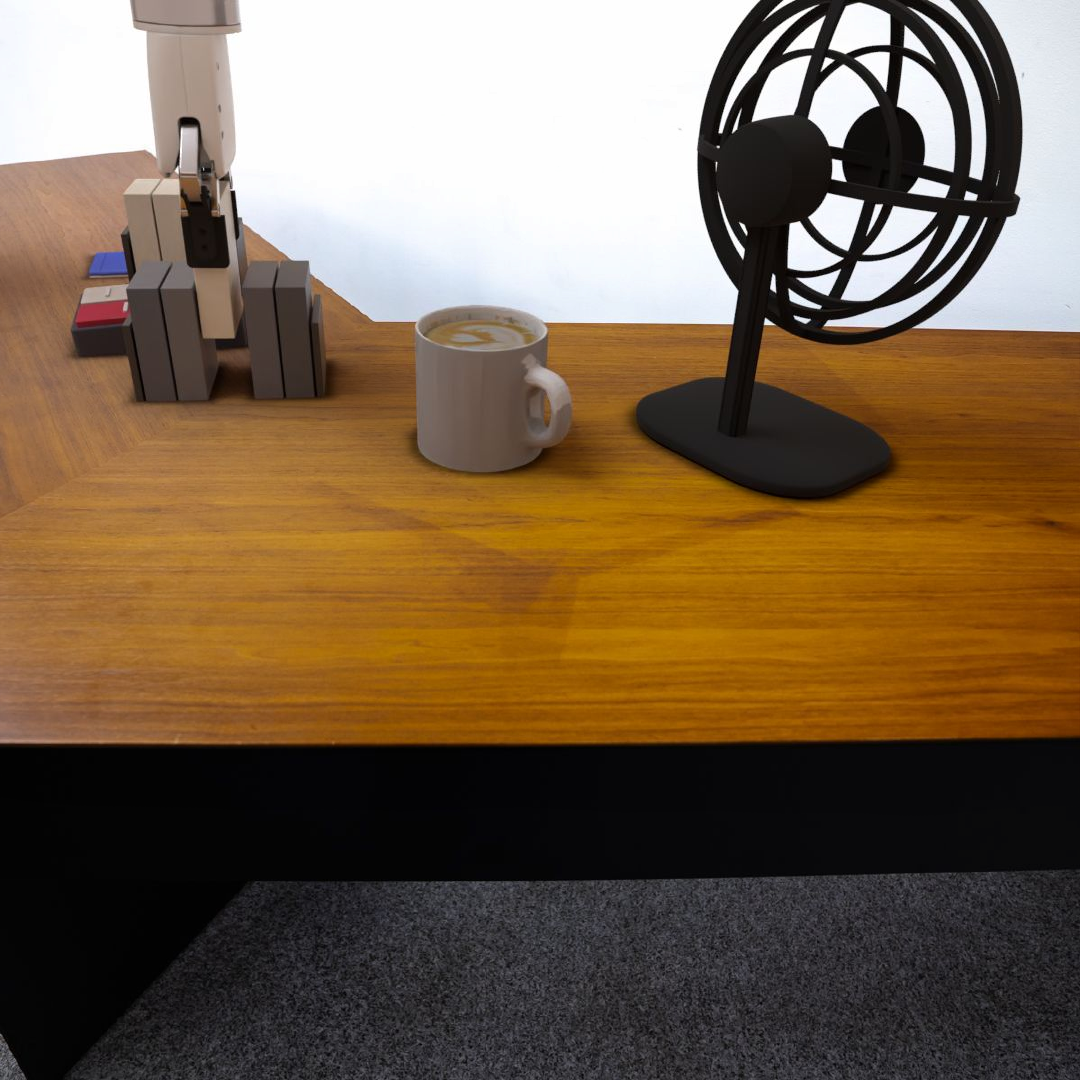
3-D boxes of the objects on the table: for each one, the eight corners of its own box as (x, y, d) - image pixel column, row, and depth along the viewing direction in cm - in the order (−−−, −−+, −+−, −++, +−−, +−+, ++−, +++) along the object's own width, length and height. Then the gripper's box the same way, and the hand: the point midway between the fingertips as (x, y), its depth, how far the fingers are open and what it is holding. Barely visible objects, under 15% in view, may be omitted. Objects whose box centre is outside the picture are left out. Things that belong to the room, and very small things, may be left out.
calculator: (78, 284, 96) (236, 269, 100) (90, 326, 99) (243, 310, 102) (67, 322, 88) (240, 304, 91) (79, 367, 90) (248, 348, 93)
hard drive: (207, 247, 118) (96, 250, 115) (205, 267, 111) (88, 271, 108) (208, 260, 119) (99, 264, 116) (207, 280, 112) (91, 285, 109)
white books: (132, 300, 104) (113, 193, 98) (144, 280, 110) (126, 178, 104) (243, 299, 106) (230, 194, 100) (249, 279, 112) (237, 179, 106)
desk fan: (970, 474, 78) (1130, -36, 59) (838, 543, 68) (979, -43, 50) (715, 366, 95) (776, -55, 77) (579, 408, 85) (613, -63, 67)
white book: (202, 338, 81) (184, 201, 75) (212, 309, 86) (196, 180, 80) (235, 338, 81) (219, 201, 75) (243, 309, 87) (229, 180, 81)
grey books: (137, 406, 82) (114, 288, 77) (152, 371, 88) (132, 260, 83) (324, 401, 85) (315, 287, 79) (326, 368, 91) (318, 260, 85)
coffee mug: (393, 439, 79) (389, 319, 73) (493, 410, 84) (495, 297, 79) (492, 508, 70) (495, 378, 65) (596, 471, 76) (606, 348, 70)
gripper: (152, -5, 78) (182, 223, 87) (105, 15, 63) (148, 286, 73) (250, 0, 79) (269, 224, 88) (226, 21, 64) (253, 287, 74)
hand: (214, 250), depth 80 cm, fingers closed on white book, 7 cm apart
